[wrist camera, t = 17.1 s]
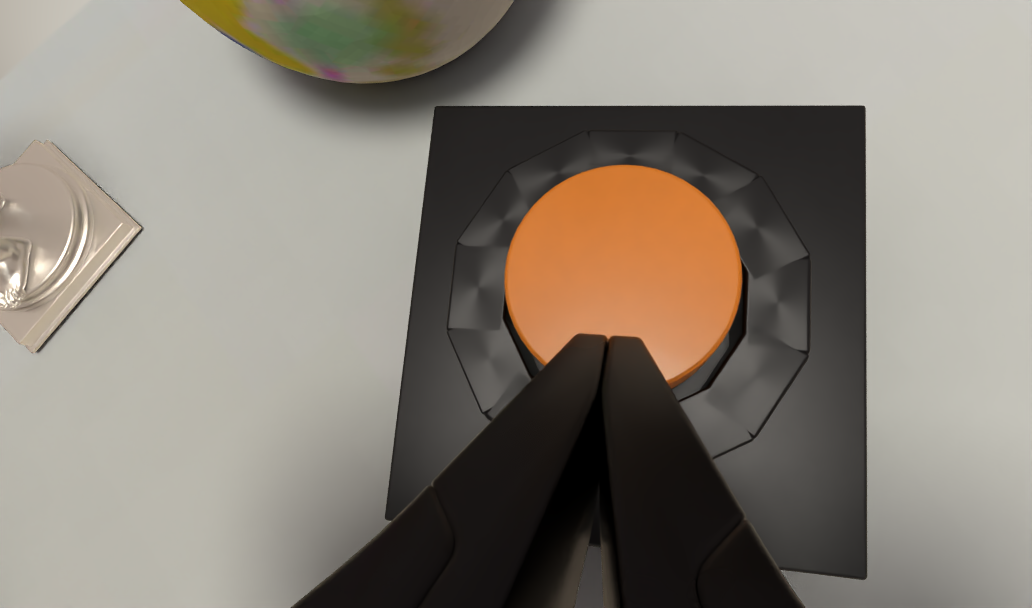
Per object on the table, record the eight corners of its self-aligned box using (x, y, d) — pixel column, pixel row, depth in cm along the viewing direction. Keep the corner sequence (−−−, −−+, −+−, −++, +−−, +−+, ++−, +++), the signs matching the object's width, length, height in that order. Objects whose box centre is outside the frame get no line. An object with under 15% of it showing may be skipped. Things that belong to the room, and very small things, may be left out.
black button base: (805, 541, 18) (908, 606, 11) (445, 499, 20) (344, 532, 13) (810, 186, 20) (900, 54, 13) (480, 179, 21) (406, 61, 15)
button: (723, 409, 12) (739, 403, 10) (514, 391, 13) (492, 383, 11) (730, 205, 13) (746, 164, 11) (531, 200, 14) (513, 161, 12)
